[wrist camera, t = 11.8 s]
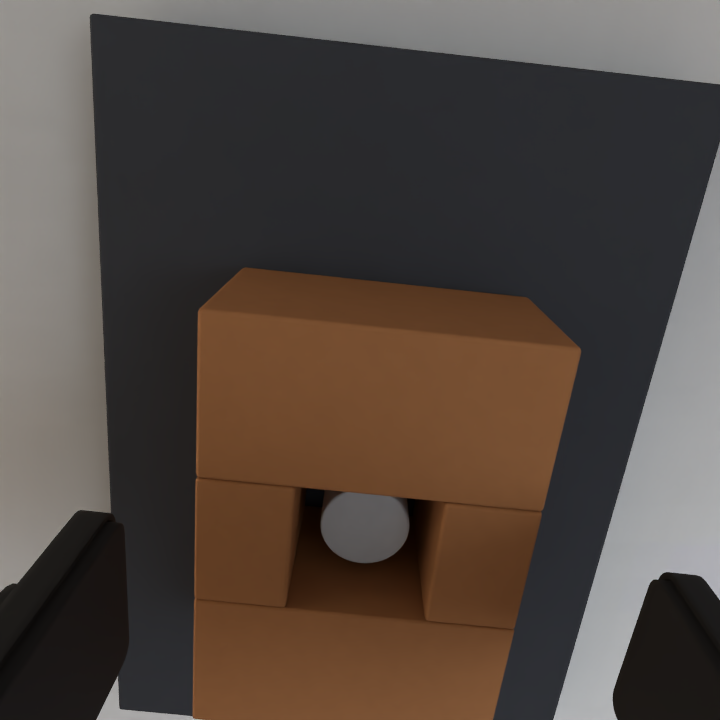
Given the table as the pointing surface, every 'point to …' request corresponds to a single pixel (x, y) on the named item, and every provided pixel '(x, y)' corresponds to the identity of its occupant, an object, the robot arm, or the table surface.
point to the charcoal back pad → (379, 272)
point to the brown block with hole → (367, 476)
